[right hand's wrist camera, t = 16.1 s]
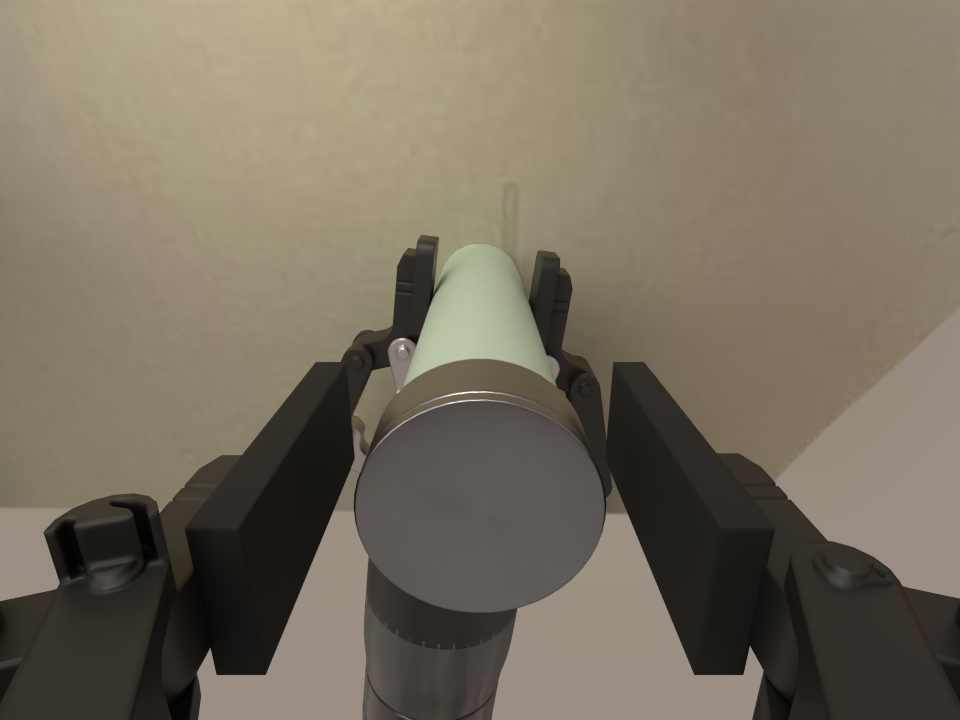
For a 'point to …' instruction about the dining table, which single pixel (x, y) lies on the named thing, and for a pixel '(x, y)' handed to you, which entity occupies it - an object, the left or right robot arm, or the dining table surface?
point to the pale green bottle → (479, 315)
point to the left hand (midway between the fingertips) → (488, 248)
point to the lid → (479, 488)
